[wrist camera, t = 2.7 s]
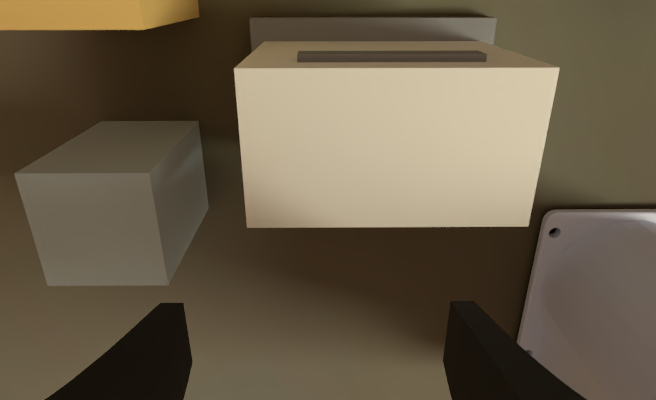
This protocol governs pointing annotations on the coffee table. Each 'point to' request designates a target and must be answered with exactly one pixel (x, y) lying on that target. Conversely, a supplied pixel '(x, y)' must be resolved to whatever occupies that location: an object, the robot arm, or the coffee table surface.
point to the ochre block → (94, 14)
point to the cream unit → (389, 123)
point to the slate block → (117, 203)
